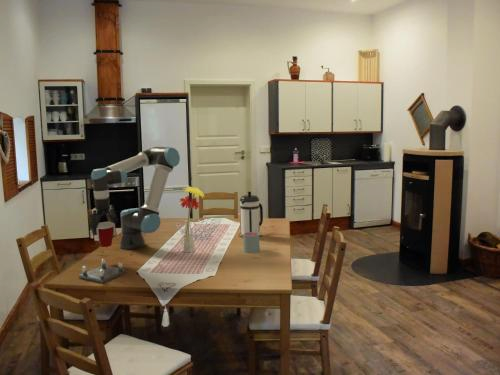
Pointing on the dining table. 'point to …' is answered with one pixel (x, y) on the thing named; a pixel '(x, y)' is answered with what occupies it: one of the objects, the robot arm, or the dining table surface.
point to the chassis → (102, 272)
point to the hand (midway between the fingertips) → (105, 237)
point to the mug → (251, 242)
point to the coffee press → (250, 214)
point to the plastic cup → (105, 233)
